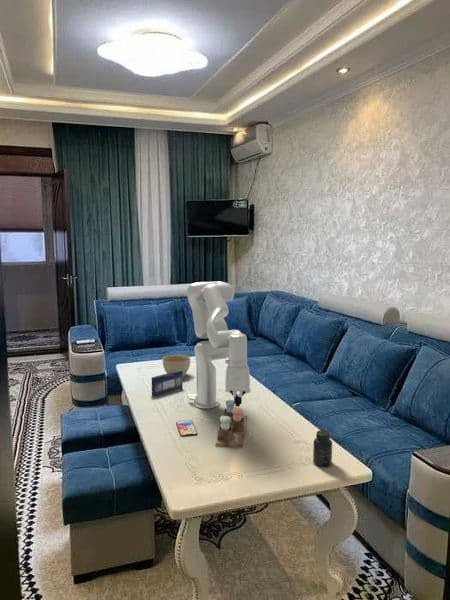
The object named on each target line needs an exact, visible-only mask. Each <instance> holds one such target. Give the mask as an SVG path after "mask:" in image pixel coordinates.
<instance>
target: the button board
mask: <svg viewBox="0 0 450 600" xmlns="http://www.w3.org/2000/svg"><path fill="white" fill-rule="evenodd" d="M222 414H223V415H222V416H229V417H230V418H231V419H230V422H229V431H223V430H221V424H220V425H218V428H217V438H216V441H215V447H223V448H224V447H226V448H243V441H244V437H245V432H246V427H247V422H248V415H241V422H233V413H226V408H224V410H223V413H222Z"/></svg>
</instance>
